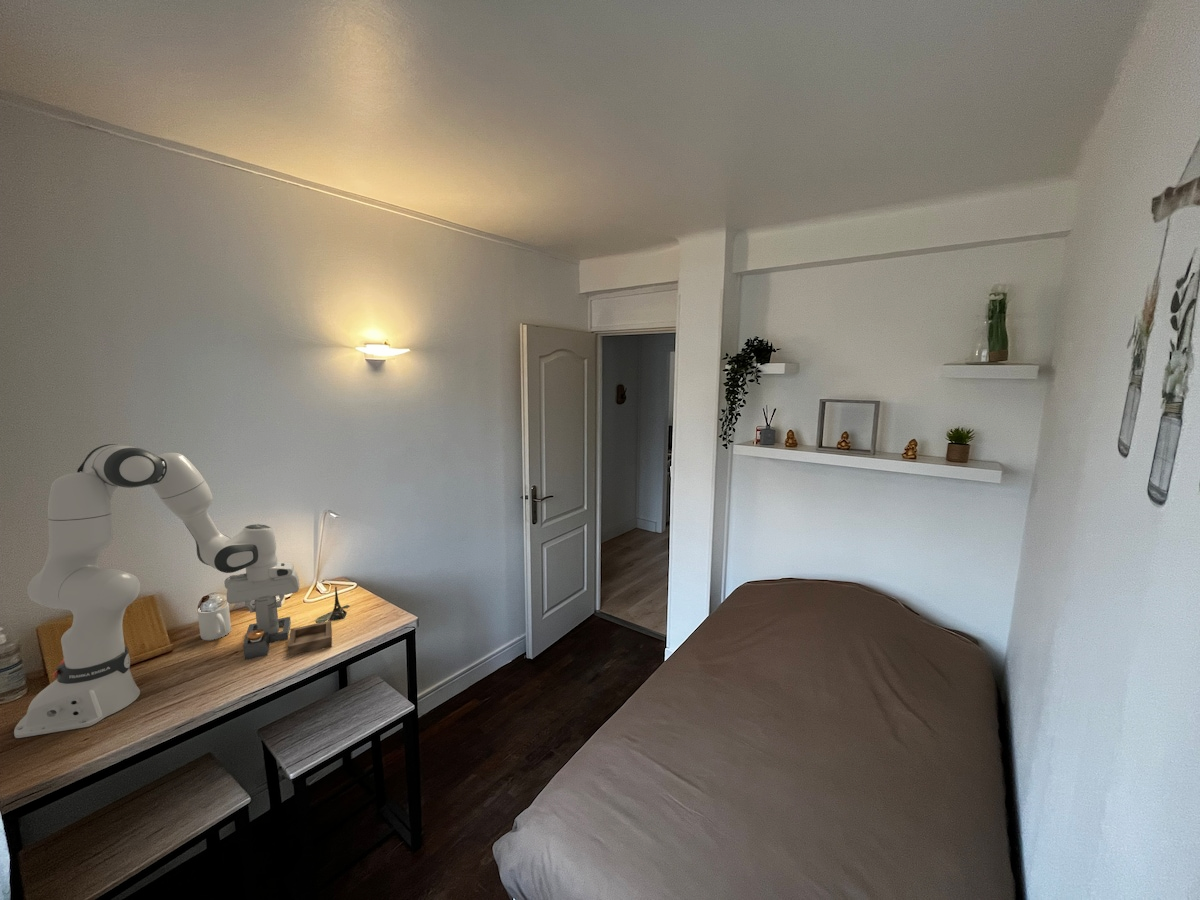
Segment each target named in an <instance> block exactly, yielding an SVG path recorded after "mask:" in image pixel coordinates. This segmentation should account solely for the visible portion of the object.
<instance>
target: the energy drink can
mask: <svg viewBox="0 0 1200 900" xmlns="http://www.w3.org/2000/svg"><path fill="white" fill-rule="evenodd" d="M253 601H254V605H255V612H254V613H255V619H256V623H257V630H258V629H262V630H264V633H266V632H268V634H273V633H277V632H280V627H279V624H278V619H279V616H278V613H279V612H278V608H276V601H277V596H274V597H270V596H266V597H261V598H259V599H257V600H253Z"/></svg>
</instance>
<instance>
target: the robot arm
mask: <svg viewBox="0 0 1200 900" xmlns="http://www.w3.org/2000/svg"><path fill="white" fill-rule="evenodd" d="M144 486H150V487H151V488H153V489H154V490H155V492H156V494H157V495H158V497H159V498H160V500H161V501H162V503H163V504H164V505H165V506H166V507H167V509H169V511H170V512H172V513H173V514H174V515H175V516H177V517H178V518H179V519H180V520H181V522H183V524H184V525H185V527H186V528H187V529H188V531H189V533H190V535H191V536H192V538H193V539H194V541H195V544H196V545H195V546H196V547H195V548H196V556H197V558H198V560H199V561H200V562H201V563H202V564H203V565H206V566H209V567H211V568H213V569H214V570H217V571H219V572H221V573H223V574H225V573H226V574H231V573H236V572H239V571H241V570H243V569H245V573H240V574H235V575H234V574H233V575H229V576H228V577H227V578H225V580H224V588H225V589H227V591H226V602H228V604H229V605H233V604H239V603H244V605H245V606H246V607H247V608H248V609H249V613H256V612H255V604H252V603H251V601H255V600H257V599H259V598H261V597H266V596H270V597H274V596H276V597H278V598H279V600H276V608H277V609H278V608H282V601H283V600H284V598H285V595H291V594H296V593H298V592H299V590H300V589H301V588H300V580H299V576H298V573H297V571H295V569H294V564H293V562H286V561H278V557H277V555H276V552H277V542H276V541H277V540H276V537H275V532H274V530H273V528H272V527H271V526H268V525H266V524H258V523H257V524H249V525H245V526H244V527H243V529H242V530H241V531H240V532H239V533H237V534H236V535H235V536H233V537H229V536H227V535H226V534H223V533H222V532H220V530H219V529H218V528H217V526H216V524H215V523H214V520H213V519H212V518H211V516H210V514H209V513H208V509H209V507H210V506H211V505H212V503H213V501H214V496H213V494H212V491H211V488H210V486H209V484H208V483H207V481H206V479H205V477H204V476H202V474H201V473H200V471H199V470H198V469H197V468H196V466H195V465H194V464H193V463H192V462H191V460H189V459H188V458H187V457H186V456H185V455H183V454H182V453H178V452H165V453H161V454H158V455H156V454H154V453H152V452H151V451H148V450H146V449H143V448H139V447H136V446H132V445H130V444H129V445H128V444H118V443H117V444H115V443H114V444H113V443H112V444H110V443H109V444H104V445H101V446H98V447H96V448H94V449H92V450H91V451H90V452H89V453H88V454H87V455H86V457H85V459H84V460H83V462H82V463H81V464H80V466H79V467H78V468H77V470H76V472H71V473H67V474H65V475H62V476H60V477H57V478H56V479H54V481H53V482H52V483H51V487H50V491H49V494H48V495H49V497H48V503H47V523H48V551H47V552H48V553H47V555H46V559H45V563H44V565H43V566H42V569H41V570H40V571H39V572H37V573H36V575H33V577H32V578H31V579H30V581H29V583H28V585H27V588H26V593H27V596H28V597H29V600H30V601H31V602H34V603H36V604H38V605H40V606H43V607H46V608H48V609H55V610H56V609H57V610H66V611H67V610H68V611H70V612H71V613H72V616H73V619H72V624H71V627H69V628H68V629H67V630H66V631H64V632H63V633H62V636H61V639H60V643H61V648H62V654H63V659H62V660H61V661H60V662H59V666H57V667H56V668H55V671H54V672H53V673H52V679H55V680H54V681H53V682H51V683H50V684H48V685H47V686H46V687H45V688H44V689H42V690H41V691H39V693H38V694H36V696H34V697H33V699H32V700H31V701H30V703H29V705H28V707H27V711H26V714H25V715H24V716H23V717H22V718H21V719H20V720H19V722H18V723H17V724H16V725H15V727H14V731H13V735H14V738H15V739H21V738H29V737H34V736H39V735H46V734H52V733H57V732H65V731H69V730H76V729H81V728H83V729H84V728H88V727H91V726H93V725H96V724H97V723H99V722H101V721H102V720H103V719H105V718H108V716H111V715H113V714H115V713H117V712H119V711H121V710H123V709H125V708H126V707H128V706H129V705H132V703H133V702H135V701H136V700H137V699H138V697H140V695H141V690H140V688H139V687H138V685H137V684H136V682H135V679H134V678H133V675H132V672H131V669H130V668H131V658H130V654H129V650H128V646H126V644H125V638H124V630H123V620H124V616H125V613H126V611H127V610H126V609H127V608H128V607H129V606H130V605H131V604H133V602H134V601H135V600H136V599H137V598H138V596H139V593H140V591H141V582H140V580H139V578H138V577H137V576H136V575H135V574H132V573H129V572H127V571H124V570H121V569H119V568H112V567H111V568H110V567H109V568H108V567H107V568H106V567H100V566H99V561H100V560H99V559H100V557H101V554H102V552H103V551H104V549H106V548H108V547H109V546H110V545H111V544H112V542H113V540H114V535H113V517H112V516H113V515H112V514H113V513H112V504H111V500H112V496H113V494H114V493H115V490H116V489H117V488H118V487H121V488H129V489H131V488H139V487H144Z"/></svg>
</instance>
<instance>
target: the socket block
mask: <svg viewBox="0 0 1200 900" xmlns="http://www.w3.org/2000/svg"><path fill="white" fill-rule="evenodd" d="M278 624H279V628H282V631H278V632H277V633H273V634H268V632H266V633H264V636H263V637H262V640H261V641H257V642H252V643H250V640H248V639H247V634H248V633H249V632H251V631H253V630H257V622H256V623H250V624H249V625H248V627H247V630H246V634H245V637H244V640H243V644H242V651H243V659H244V661H249V660H253V659H257V658H262V657H266V656H268V654H269V650H270V644H272V643H278V642H280V641H286V640H289V636H290V630H291V625H292V621H291V616H287V617H282V618H278Z"/></svg>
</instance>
